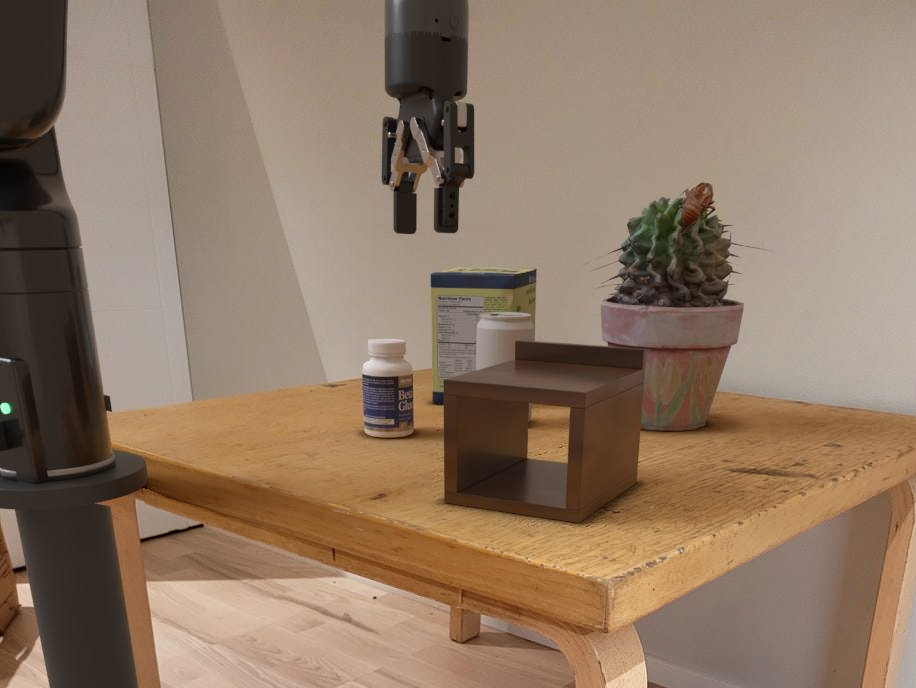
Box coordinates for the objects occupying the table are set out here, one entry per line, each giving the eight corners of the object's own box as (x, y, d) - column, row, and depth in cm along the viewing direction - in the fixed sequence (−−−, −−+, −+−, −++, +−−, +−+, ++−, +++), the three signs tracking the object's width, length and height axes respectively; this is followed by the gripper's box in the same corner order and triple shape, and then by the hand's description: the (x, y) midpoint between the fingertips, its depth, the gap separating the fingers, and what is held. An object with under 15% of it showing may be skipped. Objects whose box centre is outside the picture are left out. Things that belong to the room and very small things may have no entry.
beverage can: (490, 416, 114) (491, 309, 109) (540, 421, 111) (543, 312, 106) (466, 425, 108) (466, 314, 103) (517, 431, 106) (520, 317, 101)
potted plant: (656, 400, 124) (673, 187, 113) (775, 427, 109) (807, 184, 98) (544, 414, 114) (552, 183, 104) (657, 446, 100) (679, 180, 89)
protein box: (534, 388, 132) (538, 267, 126) (512, 408, 118) (515, 273, 112) (460, 385, 134) (460, 265, 128) (430, 404, 120) (428, 272, 114)
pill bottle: (407, 439, 101) (405, 344, 97) (358, 437, 102) (354, 342, 98) (419, 429, 106) (417, 337, 102) (372, 427, 107) (368, 336, 103)
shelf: (578, 523, 74) (586, 370, 70) (444, 502, 79) (443, 358, 75) (636, 482, 86) (646, 348, 81) (515, 467, 91) (518, 339, 86)
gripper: (355, 44, 90) (358, 232, 95) (425, 14, 78) (424, 230, 84) (427, 55, 93) (425, 236, 99) (503, 28, 82) (497, 234, 88)
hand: (424, 233), depth 91 cm, fingers open, 8 cm apart
